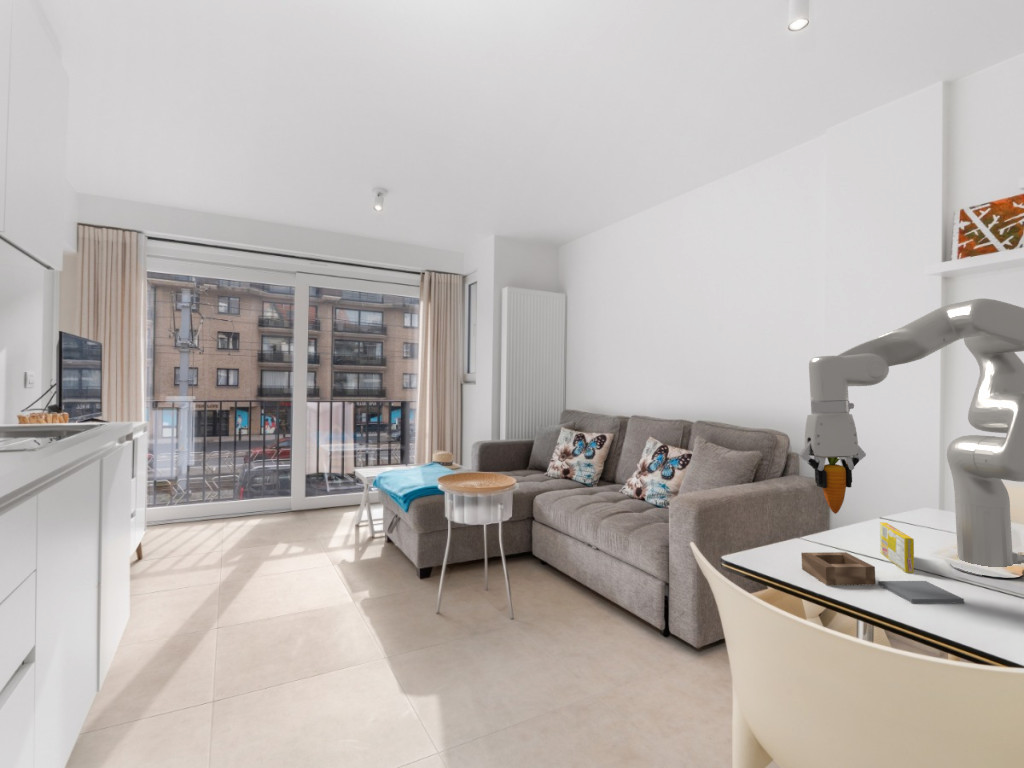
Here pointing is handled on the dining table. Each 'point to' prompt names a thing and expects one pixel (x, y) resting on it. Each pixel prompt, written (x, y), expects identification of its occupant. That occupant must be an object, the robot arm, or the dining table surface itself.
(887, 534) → the candy box
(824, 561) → the walnut collar
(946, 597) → the rubber mat
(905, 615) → the dining table surface
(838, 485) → the carrot
